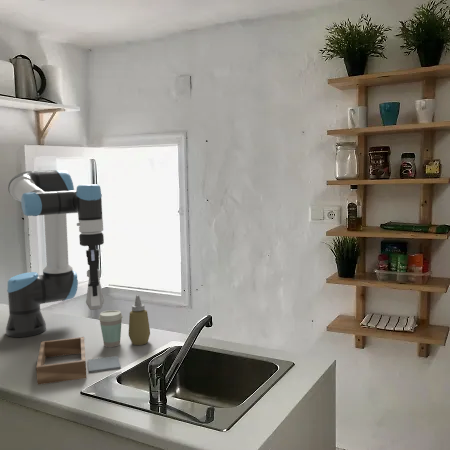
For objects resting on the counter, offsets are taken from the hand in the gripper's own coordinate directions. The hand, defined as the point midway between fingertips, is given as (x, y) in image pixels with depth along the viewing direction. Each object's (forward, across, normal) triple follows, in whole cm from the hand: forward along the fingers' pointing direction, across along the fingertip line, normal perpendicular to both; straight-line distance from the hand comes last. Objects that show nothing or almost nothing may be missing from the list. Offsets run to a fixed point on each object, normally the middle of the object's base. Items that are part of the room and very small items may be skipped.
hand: (95, 302), depth 163 cm
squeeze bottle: (+21, -17, +15) cm, 32 cm away
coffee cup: (+21, -19, +5) cm, 29 cm away
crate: (+21, -3, -11) cm, 24 cm away
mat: (+21, 0, +2) cm, 21 cm away
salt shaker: (+2, 0, 0) cm, 2 cm away
